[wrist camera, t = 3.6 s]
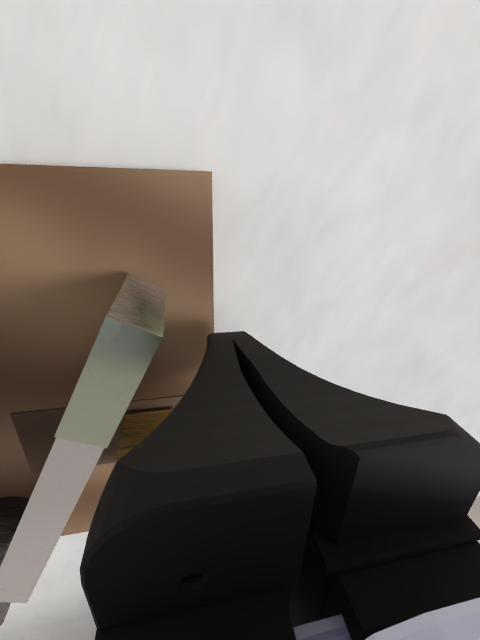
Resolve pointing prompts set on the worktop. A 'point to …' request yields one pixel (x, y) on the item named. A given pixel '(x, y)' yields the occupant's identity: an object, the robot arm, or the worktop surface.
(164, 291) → the bar
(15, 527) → the tongs fixed
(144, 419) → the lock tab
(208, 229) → the board
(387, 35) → the worktop surface
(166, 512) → the robot arm
